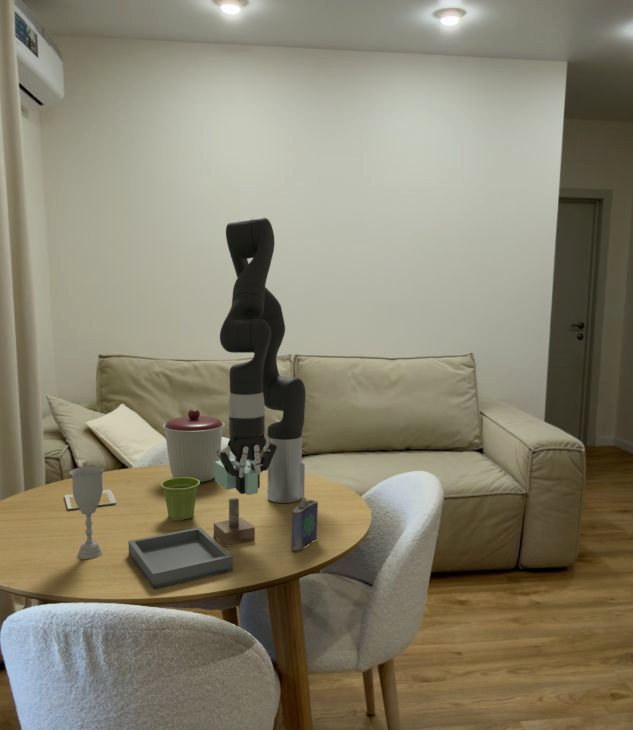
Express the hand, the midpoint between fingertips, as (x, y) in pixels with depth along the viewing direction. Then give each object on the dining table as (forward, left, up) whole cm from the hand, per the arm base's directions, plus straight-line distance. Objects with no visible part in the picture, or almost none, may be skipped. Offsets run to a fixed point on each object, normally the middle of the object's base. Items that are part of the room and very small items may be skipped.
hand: (247, 491), depth 135 cm
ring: (0, -4, 0) cm, 4 cm away
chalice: (+30, -14, -13) cm, 36 cm away
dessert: (+23, -49, -13) cm, 56 cm away
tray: (+15, 0, -13) cm, 20 cm away
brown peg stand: (0, -7, -13) cm, 14 cm away
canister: (-8, -55, -13) cm, 57 cm away
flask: (-12, +4, -13) cm, 18 cm away
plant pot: (+6, -26, -13) cm, 29 cm away
